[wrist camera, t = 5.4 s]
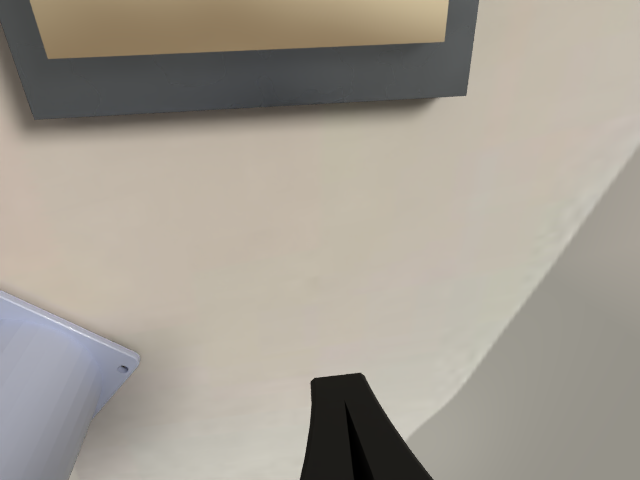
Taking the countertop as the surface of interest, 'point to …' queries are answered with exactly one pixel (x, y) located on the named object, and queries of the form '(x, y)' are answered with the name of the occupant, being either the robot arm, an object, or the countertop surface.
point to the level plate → (230, 25)
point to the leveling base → (237, 73)
